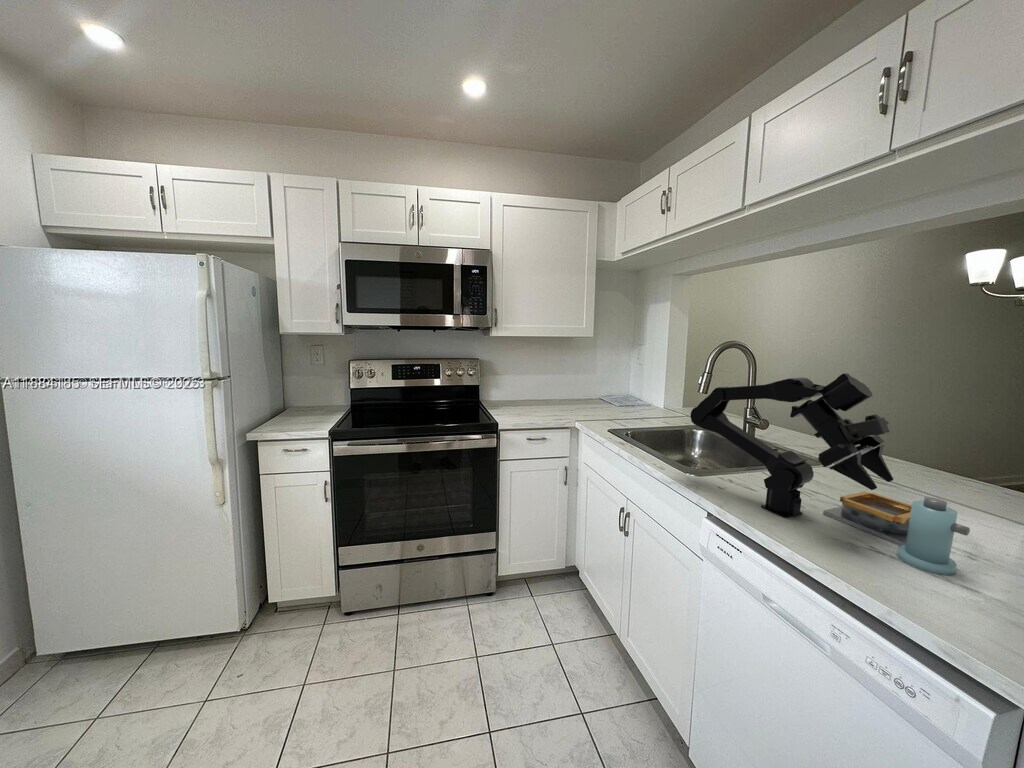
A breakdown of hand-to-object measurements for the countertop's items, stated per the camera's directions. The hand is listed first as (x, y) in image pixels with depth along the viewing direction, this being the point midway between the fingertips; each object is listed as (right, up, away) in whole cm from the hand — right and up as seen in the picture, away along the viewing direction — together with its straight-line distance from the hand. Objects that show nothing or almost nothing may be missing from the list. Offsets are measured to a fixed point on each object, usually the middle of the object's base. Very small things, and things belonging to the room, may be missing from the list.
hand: (883, 484), depth 82 cm
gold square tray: (+9, -12, +11) cm, 18 cm away
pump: (+4, -14, -5) cm, 15 cm away
